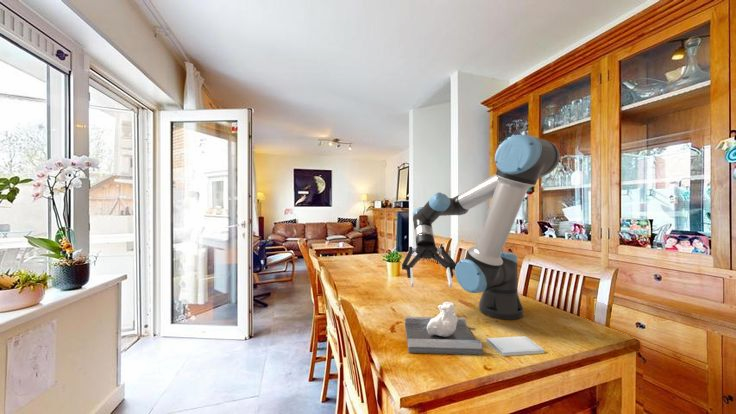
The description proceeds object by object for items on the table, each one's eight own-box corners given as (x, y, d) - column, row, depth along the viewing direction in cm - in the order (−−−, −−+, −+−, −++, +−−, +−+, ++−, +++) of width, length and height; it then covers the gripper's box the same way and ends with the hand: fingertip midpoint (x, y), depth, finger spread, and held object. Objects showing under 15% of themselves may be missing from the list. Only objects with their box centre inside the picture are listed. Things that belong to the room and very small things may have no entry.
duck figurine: (430, 347, 80) (448, 325, 74) (416, 324, 85) (432, 302, 79) (457, 336, 86) (476, 315, 81) (443, 315, 92) (459, 294, 86)
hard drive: (502, 352, 73) (544, 349, 74) (485, 337, 81) (524, 334, 83) (502, 358, 73) (545, 355, 74) (486, 343, 81) (524, 340, 83)
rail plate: (464, 325, 92) (464, 317, 92) (482, 354, 74) (482, 343, 74) (404, 324, 93) (404, 315, 93) (408, 352, 75) (408, 342, 75)
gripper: (453, 243, 114) (465, 290, 99) (394, 244, 115) (396, 290, 100) (456, 232, 109) (469, 279, 93) (394, 233, 110) (396, 279, 95)
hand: (431, 285), depth 97 cm, fingers open, 13 cm apart
